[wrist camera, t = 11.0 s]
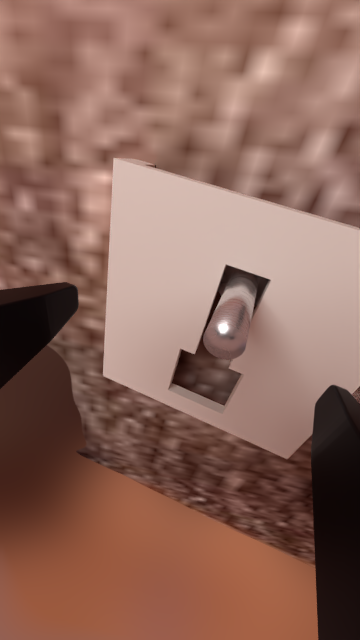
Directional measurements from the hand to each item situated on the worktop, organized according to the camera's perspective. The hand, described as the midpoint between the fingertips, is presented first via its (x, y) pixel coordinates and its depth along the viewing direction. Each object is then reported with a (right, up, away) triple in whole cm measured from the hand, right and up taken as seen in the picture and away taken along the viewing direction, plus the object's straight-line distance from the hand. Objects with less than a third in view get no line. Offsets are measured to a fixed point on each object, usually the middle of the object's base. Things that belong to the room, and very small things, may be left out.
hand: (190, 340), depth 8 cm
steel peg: (+5, +4, +10) cm, 12 cm away
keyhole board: (+4, 0, +13) cm, 14 cm away
